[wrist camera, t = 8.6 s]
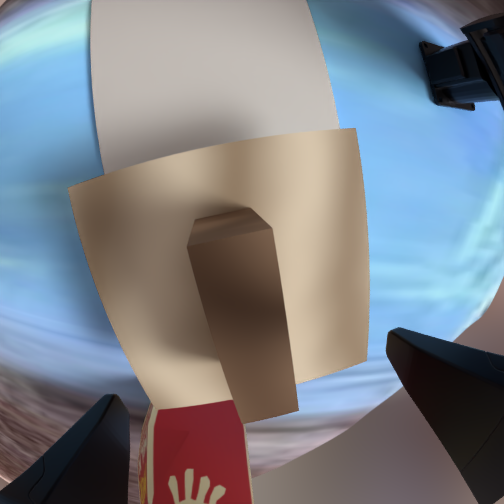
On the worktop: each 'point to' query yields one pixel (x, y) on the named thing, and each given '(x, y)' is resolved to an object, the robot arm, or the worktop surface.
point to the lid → (234, 267)
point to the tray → (203, 75)
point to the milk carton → (194, 456)
